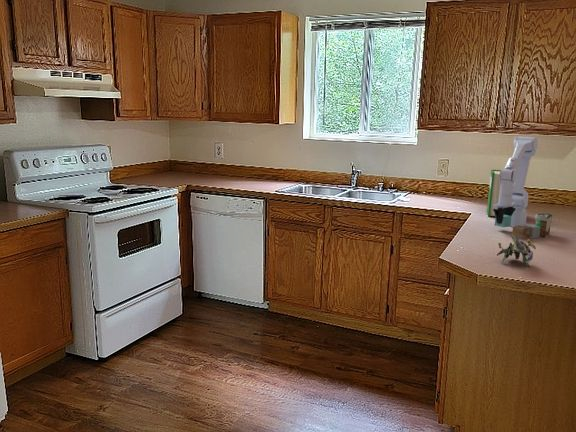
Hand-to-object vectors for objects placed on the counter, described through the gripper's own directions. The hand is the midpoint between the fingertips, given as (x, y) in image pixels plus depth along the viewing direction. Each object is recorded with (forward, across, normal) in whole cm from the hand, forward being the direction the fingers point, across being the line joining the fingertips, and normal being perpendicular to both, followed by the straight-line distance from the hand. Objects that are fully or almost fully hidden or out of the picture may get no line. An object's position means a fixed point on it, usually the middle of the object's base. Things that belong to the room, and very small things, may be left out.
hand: (502, 222), depth 243 cm
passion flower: (+4, -45, -38) cm, 59 cm away
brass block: (+4, -5, -13) cm, 14 cm away
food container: (+4, +8, -14) cm, 17 cm away
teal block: (+1, 0, 0) cm, 1 cm away
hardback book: (+4, +32, +28) cm, 43 cm away
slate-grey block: (+4, +2, -14) cm, 15 cm away
